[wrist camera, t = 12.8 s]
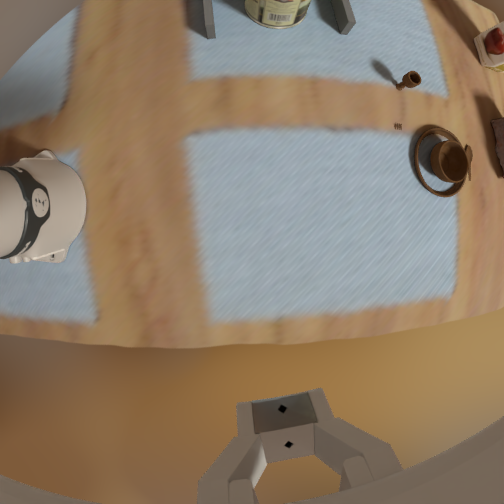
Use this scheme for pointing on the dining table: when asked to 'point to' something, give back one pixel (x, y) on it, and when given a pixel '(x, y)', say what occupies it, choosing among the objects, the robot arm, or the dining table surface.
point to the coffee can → (277, 12)
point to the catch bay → (338, 3)
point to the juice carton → (491, 47)
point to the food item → (499, 139)
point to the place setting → (442, 151)
